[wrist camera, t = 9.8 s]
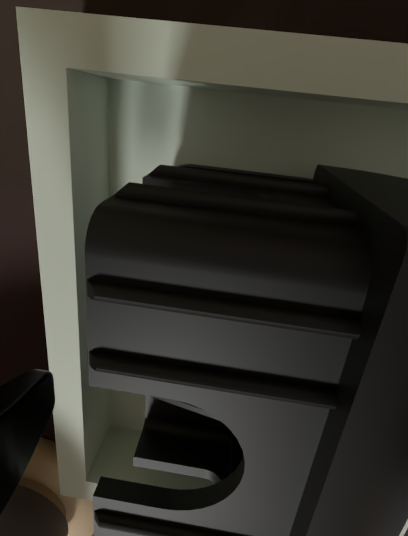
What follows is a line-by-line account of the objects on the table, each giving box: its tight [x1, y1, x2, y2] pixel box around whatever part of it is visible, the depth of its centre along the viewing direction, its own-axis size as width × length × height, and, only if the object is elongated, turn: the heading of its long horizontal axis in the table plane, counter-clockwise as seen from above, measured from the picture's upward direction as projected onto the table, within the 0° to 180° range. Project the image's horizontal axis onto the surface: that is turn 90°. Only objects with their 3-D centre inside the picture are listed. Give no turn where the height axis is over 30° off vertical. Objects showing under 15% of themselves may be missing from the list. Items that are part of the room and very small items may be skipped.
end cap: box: [85, 164, 408, 536], centre depth 9 cm, size 10×7×7 cm
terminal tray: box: [16, 7, 408, 536], centre depth 11 cm, size 12×15×3 cm
